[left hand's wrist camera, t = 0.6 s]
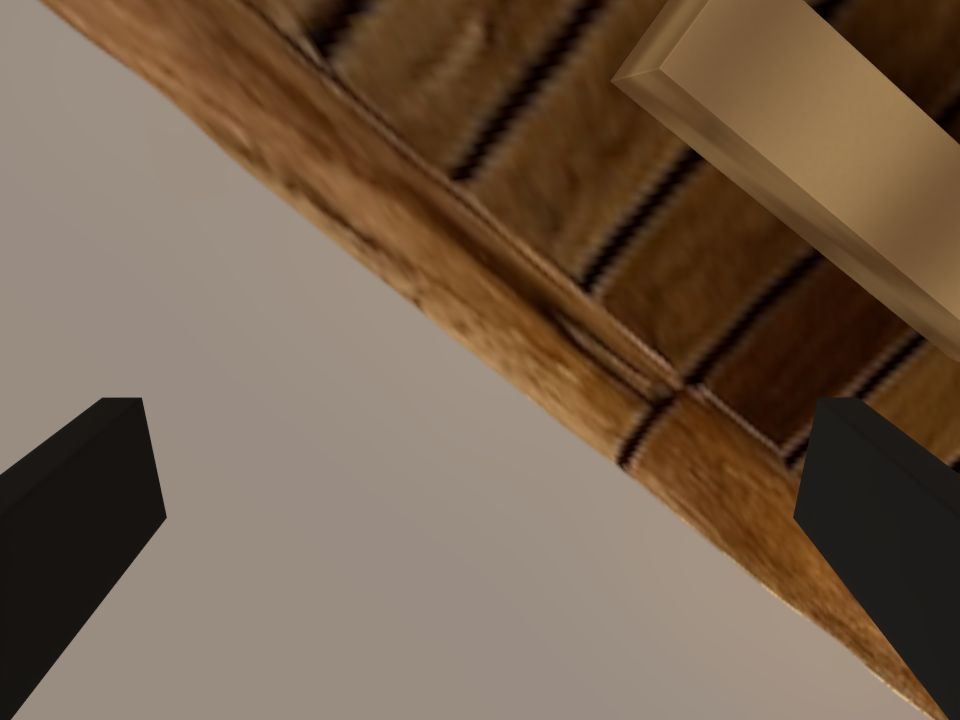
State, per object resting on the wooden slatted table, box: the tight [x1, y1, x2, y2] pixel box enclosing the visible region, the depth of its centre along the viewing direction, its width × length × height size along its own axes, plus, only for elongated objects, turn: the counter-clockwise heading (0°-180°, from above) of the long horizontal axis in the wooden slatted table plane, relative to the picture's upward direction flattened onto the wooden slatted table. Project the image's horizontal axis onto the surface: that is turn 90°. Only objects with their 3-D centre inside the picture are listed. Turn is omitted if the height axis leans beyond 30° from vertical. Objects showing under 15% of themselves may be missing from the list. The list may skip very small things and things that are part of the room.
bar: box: [611, 0, 960, 362], centre depth 29 cm, size 25×4×9 cm, turn 55°
